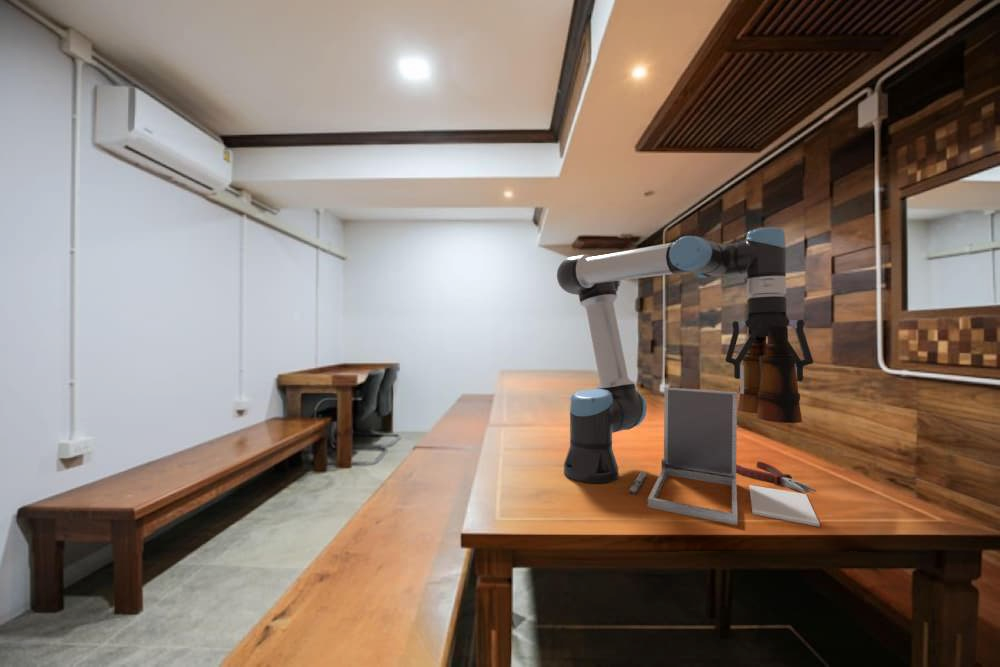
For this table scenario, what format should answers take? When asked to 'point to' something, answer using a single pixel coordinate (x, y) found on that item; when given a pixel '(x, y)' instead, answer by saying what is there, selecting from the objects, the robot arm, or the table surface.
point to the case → (699, 446)
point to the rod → (637, 483)
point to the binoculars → (771, 379)
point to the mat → (782, 505)
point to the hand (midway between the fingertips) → (767, 394)
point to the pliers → (772, 476)
